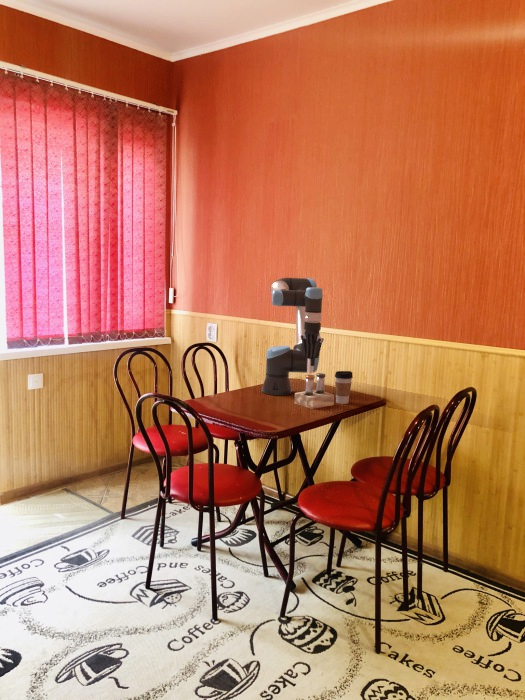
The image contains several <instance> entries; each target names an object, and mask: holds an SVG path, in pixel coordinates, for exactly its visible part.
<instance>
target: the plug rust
mask: <svg viewBox="0 0 525 700" xmlns="http://www.w3.org/2000/svg"><path fill="white" fill-rule="evenodd" d="M304 376H305V390H304V391H305V395H308V396H312V395H313V390H314V386H315V385H314V384H315V382H314V381H315V377H316V376H315V375H314V374H305V375H304Z"/></svg>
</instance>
